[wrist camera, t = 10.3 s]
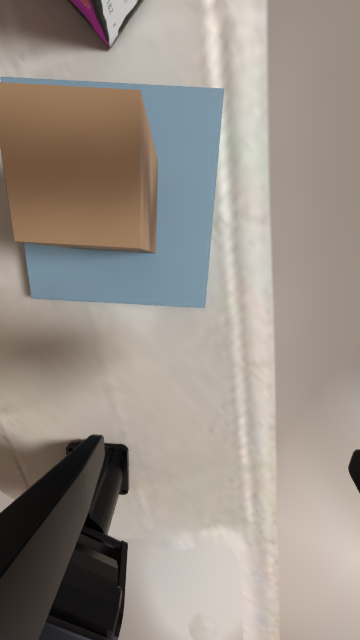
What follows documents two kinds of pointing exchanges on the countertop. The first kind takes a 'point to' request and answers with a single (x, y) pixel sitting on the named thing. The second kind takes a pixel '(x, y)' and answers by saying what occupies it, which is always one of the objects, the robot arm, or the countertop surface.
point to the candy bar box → (107, 16)
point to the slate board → (172, 211)
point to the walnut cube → (79, 167)
